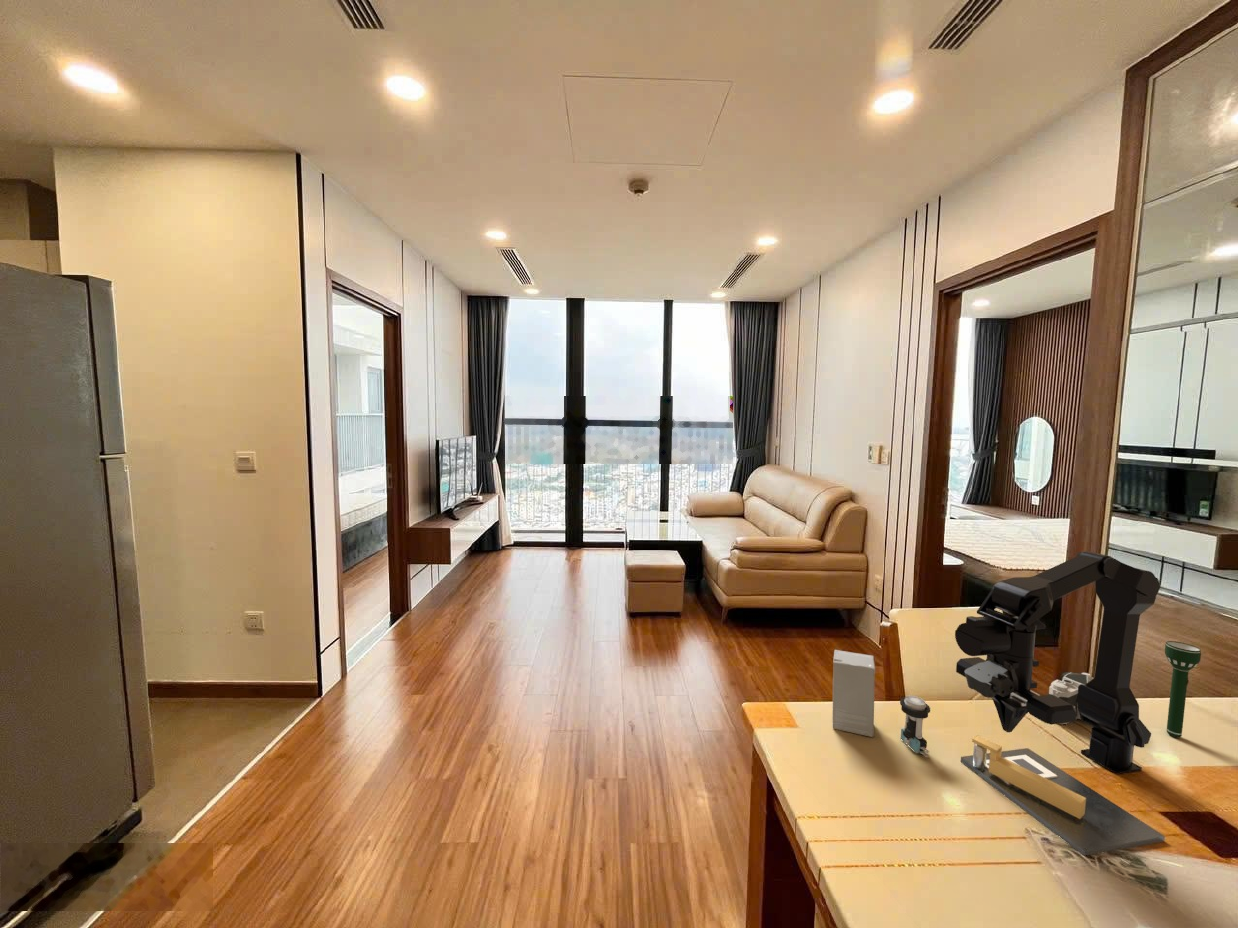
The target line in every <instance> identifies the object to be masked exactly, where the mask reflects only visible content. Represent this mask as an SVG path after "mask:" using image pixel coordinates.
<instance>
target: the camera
mask: <svg viewBox="0 0 1238 928" xmlns="http://www.w3.org/2000/svg"><path fill="white" fill-rule="evenodd" d="M1059 677H1060V678H1059V679H1055V680H1053V681H1052V682H1051V683H1050V685H1049V689H1048V693H1047V695H1048V694H1052V695H1054V696H1056V697H1058V698H1060V699H1062V700H1064V701H1066V702H1068V703H1070V704H1072V705H1073V707H1074V708H1075V709H1076V720H1078V719H1079V720H1080V721H1081V719H1080V714H1079V711H1078V708H1077V703H1076V702H1075V701H1076V699H1077V696H1078V686H1079V685H1080V684H1084V685H1085V684H1086V683H1088V682H1089V681H1090V680H1092V679H1093V678H1094V677H1092V676H1091V674H1090V673H1088V672H1081V673H1077V672H1069V671H1065V672H1062V673H1060V676H1059ZM1063 724H1066V725H1068V724H1067V723H1061V724H1060V725H1063Z"/></svg>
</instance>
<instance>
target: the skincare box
mask: <svg viewBox="0 0 1238 928" xmlns="http://www.w3.org/2000/svg"><path fill="white" fill-rule="evenodd" d="M832 659H833V664H832V665H833V668H832V669H833V670H832V672H833V674H832V729H834V730H837V731H842V732H847V733H853V734H856V735H861V736H866V737H870V738H873V737H874V733H875V731H874V729H875V724H874V723H875V687H876V686H875V684H876V682H875V681H876V680H875V678H876V663H875V658H874V655H871V654H864V653H858V652H851V651H844V650H839V649H834V652H833V658H832Z"/></svg>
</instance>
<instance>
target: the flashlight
mask: <svg viewBox="0 0 1238 928" xmlns="http://www.w3.org/2000/svg"><path fill="white" fill-rule="evenodd" d="M1164 654H1165V657H1166V659H1167V661H1168V663H1169V664H1171V665H1170V666H1172V673H1171V674H1172V675H1171V683H1170V695H1169V703H1168V713H1167V722H1166V733H1167V735H1169V736H1171V737H1173V738H1177V737H1179V738H1182V736H1183V735H1182V734H1183V727H1184V726H1183V725H1184V719H1185V718H1184V717H1185V707H1186V697H1187V691H1188V689H1187V688H1188V685H1189V682H1190V681H1189V671H1191V670H1192V669H1194V668H1196V667H1197V666H1198V664H1200V662H1201V659H1202V650H1201V648H1199V647H1198V646H1195V645H1193V644H1189V643H1185V642H1181V641H1176V640H1175V641H1173V640H1168V641H1166V642H1165V645H1164Z"/></svg>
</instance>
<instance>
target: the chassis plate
mask: <svg viewBox="0 0 1238 928" xmlns="http://www.w3.org/2000/svg"><path fill="white" fill-rule="evenodd" d="M1019 755H1027V756H1028V757H1030V758H1031V759H1033V760H1034V761H1036V762H1037V763H1039V764H1040V765H1042V766H1043V767H1045V768H1046V769H1048V770H1050V771H1051V772H1053V773H1054V774H1056V775H1057V777H1055V778H1049V779H1048V780H1050V781H1052V782H1054V783H1056V784H1058V785H1060V786H1062V787H1065V788H1067V789H1069V790H1071V791H1073V792H1075V793H1077V794H1079V795H1081V796H1083V797H1085V798H1086V805H1085V814H1084V815H1083V816H1082V817H1081V819H1079V818H1077V817H1075V816H1073V815H1071V814H1069V813H1067V812H1065V811H1063V810H1061V809H1059V808H1057V807H1056V806H1054V805H1052V804H1050V803H1048V802H1046V801H1044V800H1042V799H1040V798H1038V797H1036V796H1034V795H1032V794H1030V793H1029V792H1027V791H1025V790H1023V789H1021V788H1019V787H1017V786H1015V785H1013V784H1007V783H1006V782H1004V781H1003V780H1002V779H1000V778H999V777H998V776H996V775H994V774H992V773H990V772H989V770H988V769H987V768H985V770H979V769H977V768H975V767H974V766H973V754H972V755H964V756H961V757H960V762H961V763H962V764H963V765H964V766H966V767H967V768H968V769H970V770H971V771H973V772H974V773H975V774H976V775H977V776H978V777H980V778H981V779H982V780H984V781H985V782H986V783H988V784H989V785H990V786H992V787H993V788H994V789H995V790H997V791H998V792H999V793H1001V794H1002V795H1003V796H1004V797H1006V798H1008V799H1009V800H1010V801H1011V802H1012V803H1014V804H1015V805H1016V806H1017V807H1019V808H1020V809H1022V810H1023V811H1025V812H1026V813H1027V814H1028V815H1029V816H1030V817H1032V818H1034V819H1035V820H1036V821H1037V822H1039V823H1040V824H1041V825H1042V826H1044V827H1045V828H1047V829H1048V831H1049V830H1050V832H1052V833H1053V834H1054V835H1056V836H1057V835H1058V836H1057V837H1059V836H1060V837H1061V838H1062V839H1064V840H1065V841H1066V842H1068V843H1069V844H1070V845H1071V846H1070V845H1069V844H1068V843H1067V844H1068V845H1069V846H1070V847H1072V846H1073V847H1074V848H1075V849H1074V848H1073V847H1072V848H1073V849H1074V850H1076V851H1077V852H1078V851H1079V854H1081V855H1082V856H1084V857H1086V855H1087V856H1092V855H1098V854H1103V853H1102V852H1104V853H1107V852H1113V851H1114V852H1115V851H1120V850H1125V849H1131V848H1134V847H1135V848H1136V847H1141V846H1146V845H1152V844H1153V845H1154V844H1158V843H1163V842H1165V840H1166V839H1165V838H1166V836H1165V835H1164V834H1163V833H1161V832H1159V831H1157V830H1156V829H1155V828H1153V827H1151V826H1150V825H1149V824H1147V823H1146V822H1143V820H1141V819H1139V818H1137V817H1136V816H1134V815H1133V814H1132V813H1130V812H1129V811H1126V810H1125V809H1124V808H1122V807H1121V806H1119V805H1118V804H1116V803H1115V802H1113V801H1111V800H1110V799H1108V798H1106V797H1105V796H1103V794H1100V793H1099V792H1097V791H1096V790H1094V789H1092V788H1091V787H1090V786H1088V785H1086V784H1084V783H1083V782H1082V781H1080V780H1078V779H1077V778H1075V777H1073V776H1072V775H1071V774H1069V773H1067V772H1066V771H1064V770H1063V769H1061V768H1060V767H1058V765H1055V764H1053V763H1052V762H1050V761H1049V760H1047V759H1045V758H1044V757H1042V756H1041V755H1039V754H1038V753H1036V752H1035V751H1033V750H1031V749H1030V748H1029V747H1027V748H1026V747H1025V748H1017V749H1011V750H1009V749H1008V750H1004V751H1003V750H1002V754H1001V757H1003V758H1005V757H1012V756H1019ZM986 760H990V752H989V753H988V752H987V754H986ZM1060 837H1059V838H1060ZM1061 838H1060V839H1061ZM1062 839H1061V840H1062ZM1064 840H1063V841H1064ZM1065 841H1064V842H1065ZM1066 842H1065V843H1066ZM1091 854H1092V855H1091Z"/></svg>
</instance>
